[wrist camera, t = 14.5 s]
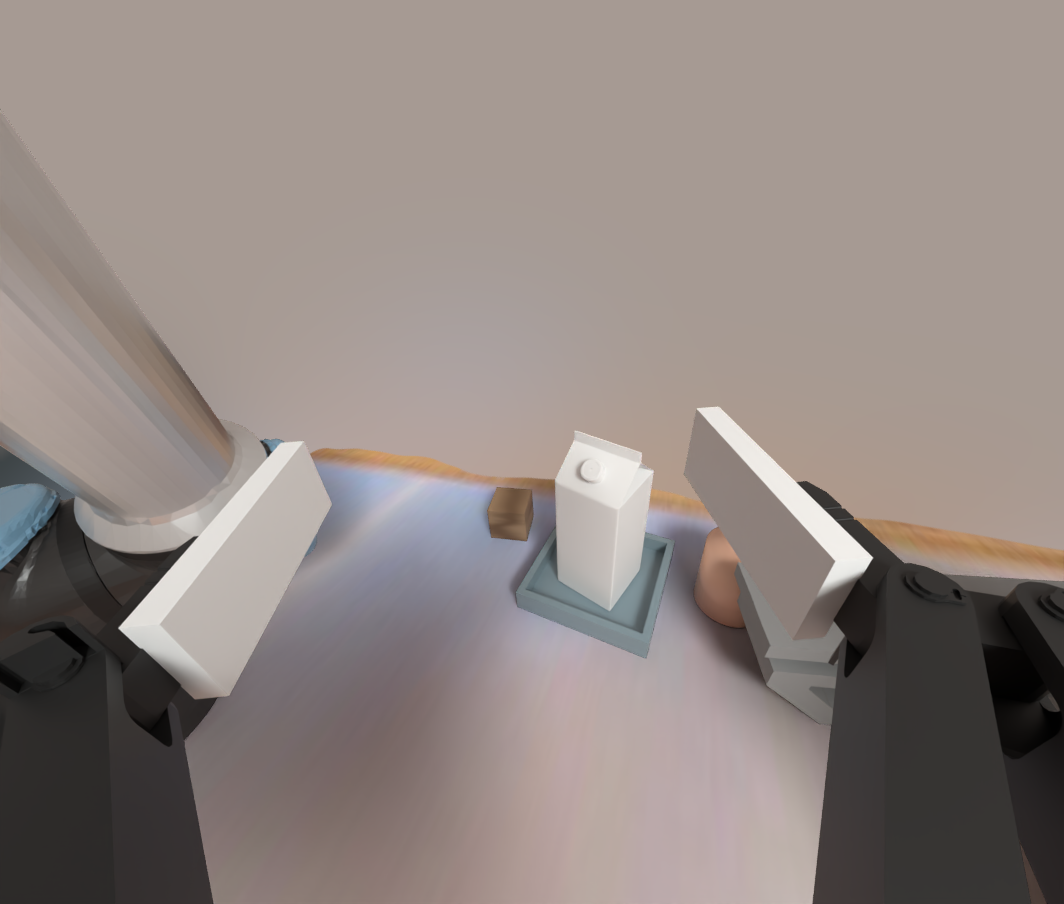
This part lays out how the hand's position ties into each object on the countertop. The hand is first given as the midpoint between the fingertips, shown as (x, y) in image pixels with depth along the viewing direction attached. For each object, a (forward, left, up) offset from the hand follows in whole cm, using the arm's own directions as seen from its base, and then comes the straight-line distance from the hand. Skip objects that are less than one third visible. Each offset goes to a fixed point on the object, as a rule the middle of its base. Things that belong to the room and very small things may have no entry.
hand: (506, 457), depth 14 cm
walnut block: (-16, +25, -32) cm, 44 cm away
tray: (-2, +21, -32) cm, 38 cm away
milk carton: (-2, +21, -31) cm, 38 cm away
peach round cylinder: (+12, +24, -32) cm, 42 cm away
